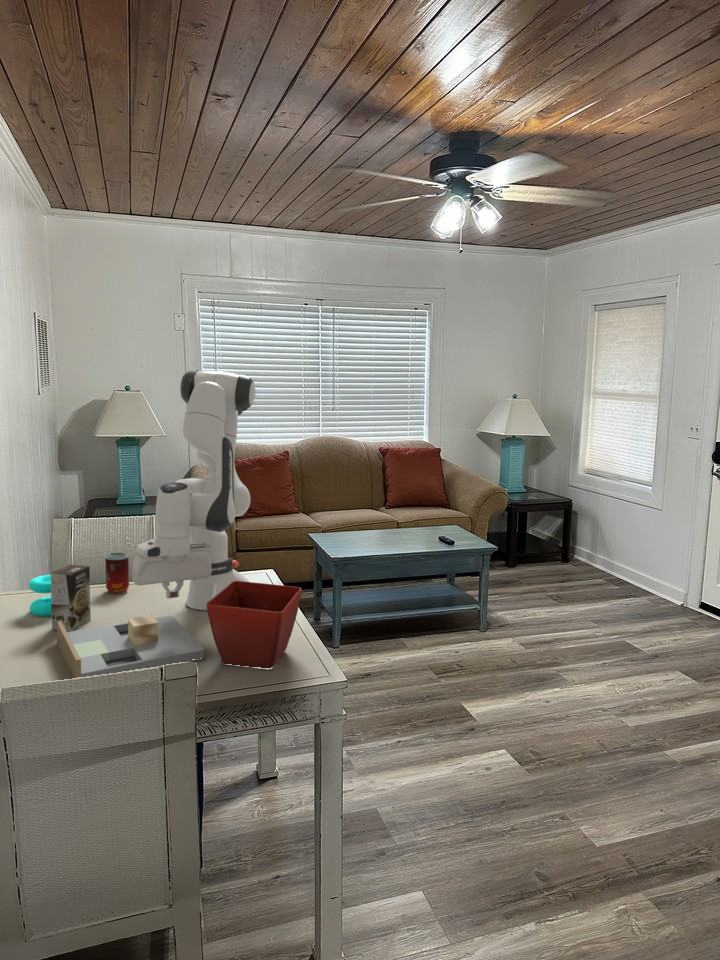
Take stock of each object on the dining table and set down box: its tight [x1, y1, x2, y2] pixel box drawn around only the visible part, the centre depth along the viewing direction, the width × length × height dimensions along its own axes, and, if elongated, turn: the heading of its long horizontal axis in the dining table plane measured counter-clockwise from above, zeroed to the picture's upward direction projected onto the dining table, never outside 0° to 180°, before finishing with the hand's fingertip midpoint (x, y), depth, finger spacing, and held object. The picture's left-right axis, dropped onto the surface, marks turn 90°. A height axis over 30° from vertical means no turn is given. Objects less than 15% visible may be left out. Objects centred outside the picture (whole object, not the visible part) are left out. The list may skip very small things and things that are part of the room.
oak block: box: [127, 614, 158, 645], centre depth 171 cm, size 6×6×5 cm
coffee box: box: [50, 564, 92, 632], centre depth 185 cm, size 9×6×16 cm
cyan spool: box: [28, 574, 52, 617], centre depth 195 cm, size 10×10×10 cm
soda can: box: [104, 552, 130, 595], centre depth 214 cm, size 7×7×12 cm
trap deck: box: [56, 614, 205, 679], centre depth 170 cm, size 30×27×6 cm
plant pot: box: [206, 581, 303, 668], centre depth 168 cm, size 19×19×17 cm
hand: (172, 597), depth 174 cm, fingers closed
